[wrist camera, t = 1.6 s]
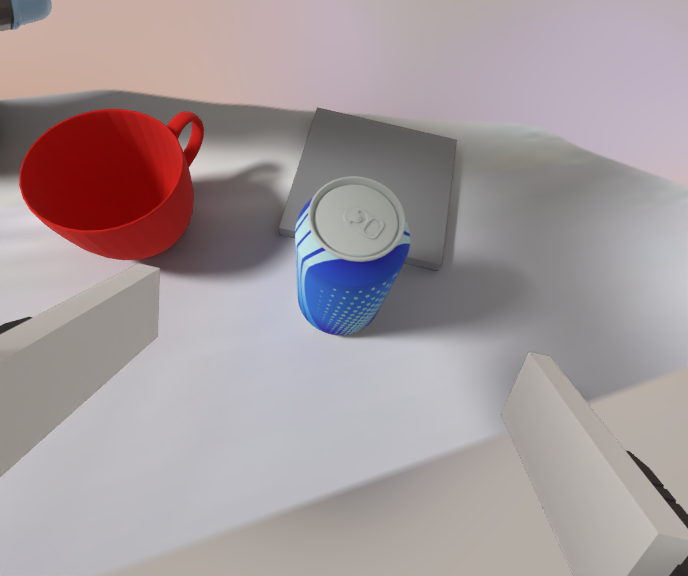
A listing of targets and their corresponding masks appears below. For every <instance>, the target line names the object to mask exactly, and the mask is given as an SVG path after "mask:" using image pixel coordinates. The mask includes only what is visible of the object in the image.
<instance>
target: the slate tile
mask: <svg viewBox="0 0 688 576" xmlns="http://www.w3.org/2000/svg"><path fill="white" fill-rule="evenodd" d="M456 141H457V140H455V139H451V138H446V137H442V136H438V135H433V134H429V133H425V132H420V131H416V130H412V129H408V128H403V127H399V126H395V125H390V124H386V123H382V122H377V121H373V120H369V119H364V118H360V117H356V116H352V115H347V114H343V113H339V112H334V111H330V110H326V109H321V108H317V110H316V113H315V116H314V119H313V122H312V126H311V129H310V132H309V135H308V138H307V141H306V144H305V147H304V150H303V153H302V157H301V160H300V163H299V166H298V169H297V172H296V175H295V178H294V181H293V184H292V187H291V191H290V194H289V197H288V200H287V203H286V206H285V209H284V212H283V215H282V218H281V222H280V225H279V234H280V235H284V236H288V237H293V238H295V228H296V223H297V219H298V217H299V214H300V212H301V211H302V209H303V207H304V206H305V205H306V204H307V202H308V201H309V200H310V199H311V198H313V197H314V195H315V194H316V193H317V191H318V190H319V189H320V188H322V187H323V186H324V185H325V184H327V183H329V182H331V181H333V180H335V179H338V178H342V177H350V176H357V177H364V178H369V179H372V180H375V181H377V182H379V183H381V184H383V185H384V186H386V187H387V188H388V189H390V190H391V191H392V192H393V193H394V194H395V195H396V197H397V198H398V200H399V201H400V203H401V205H402V207H403V210H404V214H405V219H406V221H407V224H408V227H409V232H410V247H409V252H408V255H407V257H406V260H405V262H404V263H406V264H410V265H414V266H419V267H423V268H427V269H432V270H436V271H438V269H439V268H440V267H441V265H442V258H443V250H444V242H445V233H446V225H447V217H448V208H449V200H450V191H451V183H452V175H453V166H454V158H455V150H456Z"/></svg>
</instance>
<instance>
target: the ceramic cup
mask: <svg viewBox="0 0 688 576" xmlns="http://www.w3.org/2000/svg"><path fill="white" fill-rule="evenodd" d="M189 122H192V133H191V137H190V140H189V143H188V145H187V147H186V149H185V150H184V152H183V150H182V148H181V146H180V144H179V141H178V137H179V135H180V133H181V131H182V129H183V128H184V127H185V126H186V125H187V124H188V123H189ZM203 134H204V129H203V124H202V121H201V120H200V119H199V117H197V116H196V115H195V114H193V113H191V112H187V111H184V112H181V113H179V114H177V115H176V116H175V117H174V118H173V119H172V120H171V121H170V122H169V124H168V125H167V127H166V126H165V125H164V124H163V123H161V122H160V121H158V120H156V119H154V118H152V117H150V116H149V115H145V114H142V113H139V112H136V111H130V110H124V109H103V110H95V111H90V112H86V113H82V114H79V115H76V116H73V117H71V118H68V119H66V120H64V121H62V122H60V123H58V124H57V125H55V126H53V127H52V128H50V129H49V130H48V131H46V132H45V133H44V134H43V135H42V136H40V137H39V138H38V139H37V141H36V142H35V143H34V144H33V145H32V146H31V148H30V149H29V151H28V153H27V154H26V156H25V158H24V160H23V163H22V166H21V170H20V184H19V186H20V189H21V193H22V196H23V199H24V201H25V202H26V204H27V206H28V207H29V209H30V210H31V211H32V212H33V213H34V214H35V215H36V216H37V217H38V218H39V219H40V220H41V221H42V222H43V223H44V224H45V225H47V226H48V227H49V228H51V229H52V230H53V231H55V232H56V233H58V234H59V235H61V236H62V237H64V238H65V239H67V240H69V241H70V242H72V243H74V244H76V245H77V246H79V247H81V248H83V249H84V250H87V251H89V252H92V253H95V254H98V255H101V256H104V257H107V258H112V259H119V260H139V259H144V258H149V257H152V256H154V255H157V254H160V253H162V252H163V251H165V250H167V249H169V248H170V247H171V246H172V245H174V244H175V243H176V242H177V241H178V240H179V239H180V237H181V236H182V235H183V233H184V232H185V230H186V228H187V226H188V225H189V222H190V219H191V215H192V212H193V201H194V193H193V187H192V181H191V176H190V172H189V166H190V165H191V163H192V162H193V160H194V159H195V157H196V155H197V153H198V151H199V149H200V147H201V144H202V140H203Z"/></svg>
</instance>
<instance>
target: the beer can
mask: <svg viewBox="0 0 688 576" xmlns="http://www.w3.org/2000/svg"><path fill="white" fill-rule="evenodd" d="M295 246H296V267H297V288H298V302H299V306H300V309H301V311H302V313H303V315H304V316H305V318H306V319H307V320H308V321H309V323H311V324H312V325H313V326H314V327H315V328H317V329H319V330H321V331H323V332H325V333H328V334H333V335H348V334H352V333H355V332H358V331H360V330H362V329H363V328H365V327H366V326H367V325H368V324H369V323H370V322H371V321H372V320H373V319H374V317H375V316H376V314H377V312H378V310H379V308H380V306H381V305H382V303H383V301H384V299H385V297H386V295H387V293H388V292H389V290H390V288H391V286H392V284H393V282H394V280H395V279H396V277H397V275H398V273H399V271H400V269H401V267H402V266H403V264H404V262H405V260H406V257H407V255H408V252H409V247H410V232H409V227H408V224H407V221H406V219H405V214H404V210H403V207H402V205H401V203H400V201H399V200H398V198H397V197H396V195H395V194H394V193H393V192H392V191H391V190H390V189H388V188H387V187H386V186H384V185H383V184H381V183H379V182H377V181H375V180H372V179H369V178H364V177H357V176H350V177H342V178H338V179H335V180H333V181H331V182H329V183H327V184H325V185H324V186H323V187H322V188H320V189H319V190H318V191H317V193H316V194H315V195H314V197H313V198H311V199H310V200H309V201H308V202H307V204H306V205H305V206H304V207H303V209H302V211H301V212H300V214H299V217H298V219H297V223H296V228H295Z"/></svg>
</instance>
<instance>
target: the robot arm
mask: <svg viewBox="0 0 688 576" xmlns="http://www.w3.org/2000/svg"><path fill="white" fill-rule="evenodd" d="M51 8H52V3H51V0H0V31H4V30H9V29H12V30H14V29H17V28H18V27H19V26H21V25H24V24H27V23H31V22H35V21H38V20H42V19H44V18H46V17H47V16H48V15H49V14H50V12H51ZM159 283H160V268H157V267H152V266H148V265H144V264H139V263H138V264H136V265H134V266H132V267H130V268H128V269H126V270H125V271H123V272H121V273H119V274H117V275H115V276H113V277H111V278H109V279H107V280H105V281H103V282H101V283H99V284H97V285H95V286H93V287H92V288H90V289H88V290H86V291H84V292H82V293H80V294H78V295H76V296H74V297H72V298H70V299H68V300H66V301H64V302H62V303H60V304H58V305H57V306H55V307H53V308H51V309H49V310H47V311H45V312H43V313H41V314H39V315H37V316H35V317H27V318H23V319H20V320H16V321H12V322H9V323H5V324H3V325H1V326H0V477H1V476H2V475H3V474H4V473H5V472H7V471H8V470H9V469H10V468H11V467H12V466H13V465H14V464H16V463H17V462H18V461H19V460H20V459H21V458H22V457H23V456H25V455H26V454H27V453H28V452H29V451H30V450H31V449H32V448H33V447H35V446H36V445H37V444H38V443H39V442H40V441H41V440H42V439H44V438H45V437H46V436H47V435H48V434H49V433H50V432H51V431H53V430H54V429H55V428H56V427H57V426H58V425H59V424H60V423H62V422H63V421H64V420H65V419H66V418H67V417H68V416H69V415H70V414H72V413H73V412H74V411H75V410H76V409H77V408H78V407H79V406H81V405H82V404H83V403H84V402H85V401H86V400H87V399H88V398H90V397H91V396H92V395H93V394H94V393H95V392H96V391H97V390H98V389H100V388H101V387H102V386H103V385H104V384H105V383H106V382H107V381H109V380H110V379H111V378H112V377H113V376H114V375H115V374H116V373H118V372H119V371H120V370H121V369H122V368H123V367H124V366H125V365H127V364H128V363H129V362H130V361H131V360H132V359H133V358H134V357H135V356H137V355H138V354H139V353H140V352H141V351H142V350H143V349H144V348H146V347H147V346H148V345H149V344H150V343H151V342H152V341H153V340H155V339H156V338H157V337H158V314H159ZM501 416H502V418H503V421H504V423H505V425H506V427H507V429H508V432H509V434H510V436H511V438H512V441H513V443H514V445H515V447H516V450H517V452H518V454H519V456H520V458H521V461H522V463H523V465H524V467H525V470H526V472H527V474H528V476H529V478H530V481H531V483H532V485H533V487H534V490H535V492H536V494H537V496H538V498H539V501H540V503H541V505H542V508H543V509H544V512H545V514H546V516H547V519H548V521H549V523H550V525H551V528H552V530H553V532H554V534H555V537H556V539H557V541H558V543H559V545H560V548H561V550H562V552H563V554H564V557H565V559H566V561H567V563H568V565H569V568H570V570H571V572H572V574H573V576H688V514H686V512H685V511H684V510H683V508H682V507H681V506H680V505H679V504H676V500H675V499H674V498H673V496H672V495H671V494H670V493H669V491H668V490H667V489H664V488H663V486H664V485H663V484H662V483H661V482H660V481H659V479H658V478H657V477H656V476H655V475H654V473H653V472H652V471H651V470H650V469H649V467H647V466H646V465H645V464H644V463H643V462H641V461H640V460H639V459H638V458H637V457H635V456H634V455H633V454H632V453H631V452H629V451H626V450H624V448H623V447H622V446H621V445H620V443H619V442H618V441H617V439H616V438H615V437H614V436H613V434H612V433H611V432H610V431H609V430H608V428H607V427H606V426H605V424H604V423H603V422H602V421H601V420H600V418H599V417H598V416H597V414H596V413H595V412H594V411H593V409H592V408H591V407H590V406H589V404H588V403H587V402H586V401H585V399H584V398H583V397H582V396H581V394H580V393H579V392H578V391H577V389H576V388H575V387H574V386H573V384H572V383H571V382H570V381H569V379H568V378H567V377H566V376H565V374H564V373H563V372H562V370H561V369H560V368H559V367H558V365H557V364H556V363H555V362H554V360H553V359H552V358H551V357H550V356H546V355H541V354H537V353H533V352H528V355H527V357H526V359H525V361H524V363H523V366H522V368H521V370H520V372H519V375H518V377H517V379H516V381H515V383H514V386H513V388H512V390H511V392H510V395H509V397H508V399H507V401H506V404H505V406H504V408H503V410H502V412H501Z"/></svg>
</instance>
